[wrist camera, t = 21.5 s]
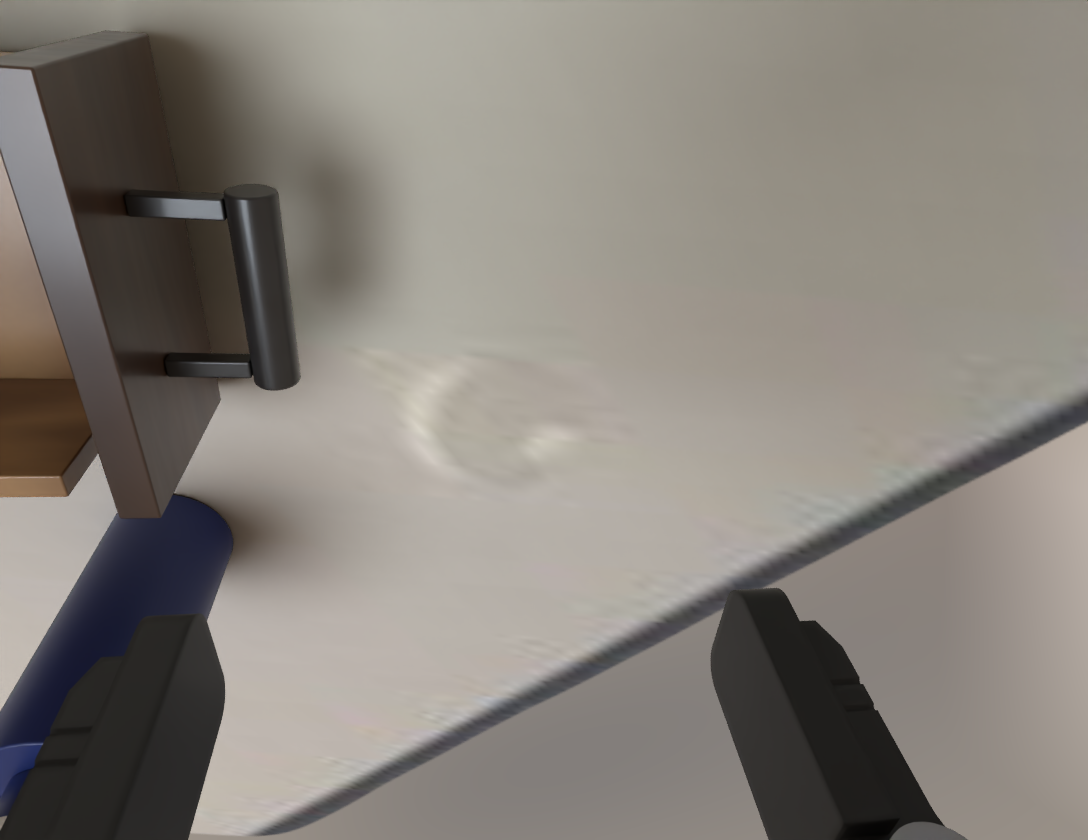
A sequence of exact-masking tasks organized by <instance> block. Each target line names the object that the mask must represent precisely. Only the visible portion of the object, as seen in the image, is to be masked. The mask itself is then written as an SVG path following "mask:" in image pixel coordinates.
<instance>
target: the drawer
mask: <svg viewBox="0 0 1088 840" xmlns="http://www.w3.org/2000/svg"><path fill="white" fill-rule="evenodd" d="M185 219H193V220H216V221H225V220H226V219H227V220H228V226H229V232H230V238H231V244H232V250H233V256H234V262H235V268H236V274H237V280H238V286H239V292H240V298H241V304H242V310H243V316H244V323H245V329H246V335H247V341H248V347H249V353H250V354H227V353H211V348H210V343H209V338H208V333H207V328H206V323H205V318H204V313H203V308H202V303H201V298H200V293H199V288H198V283H197V278H196V273H195V268H194V263H193V258H192V253H191V248H190V243H189V238H188V233H187V228H186V223H185ZM252 375H253V377H254V382H255V384H256V385H257V386H258V387H260V388H262V389H265V390H283V389H287V388H290V387H292V386H294V385H296V384H297V383H298V382H299V380H300V377H301V375H300V366H299V358H298V350H297V342H296V334H295V326H294V318H293V310H292V302H291V293H290V285H289V277H288V269H287V261H286V253H285V245H284V237H283V229H282V220H281V212H280V204H279V196H278V192H277V190H276V189H275V188H273V187H270V186H266V185H260V184H243V185H236V186H232V187H229V188H227V189H225V190H224V193H223V194H219V193H198V192H179V187H178V182H177V177H176V172H175V167H174V162H173V157H172V152H171V147H170V142H169V137H168V132H167V127H166V122H165V117H164V112H163V107H162V102H161V97H160V92H159V87H158V82H157V77H156V72H155V67H154V62H153V57H152V52H151V47H150V42H149V37H148V35H147V34H145V33H132V32H119V31H106V30H105V31H101V32H97V33H93V34H89V35H85V36H81V37H77V38H73V39H69V40H65V41H61V42H56V43H52V44H48V45H44V46H40V47H36V48H32V49H28V50H24V51H20V52H16V53H12V52H0V497H67V496H69V494H70V493H71V492H72V490H73V489H74V487H75V486H76V484H77V483H78V481H79V480H80V479H81V477H82V476H83V474H84V473H85V471H86V470H87V469H88V467H89V466H90V464H91V463H92V461H93V460H94V458H95V457H96V456H97V454H99V457H100V460H101V463H102V466H103V469H104V472H105V475H106V478H107V481H108V484H109V487H110V490H111V493H112V496H113V499H114V502H115V506H116V509H117V512H118V515H119V518H121V519H134V518H161V517H162V515H163V513H164V511H165V509H166V507H167V505H168V503H169V501H170V499H171V497H172V495H173V493H174V491H175V489H176V487H177V485H178V483H179V481H180V479H181V477H182V475H183V473H184V471H185V469H186V467H187V465H188V464H189V462H190V460H191V458H192V456H193V454H194V452H195V450H196V448H197V446H198V444H199V442H200V440H201V438H202V436H203V434H204V432H205V430H206V428H207V426H208V424H209V422H210V420H211V418H212V416H213V414H214V412H215V410H216V408H217V406H218V404H219V402H220V400H221V398H220V393H219V388H218V383H217V378H251V377H252Z"/></svg>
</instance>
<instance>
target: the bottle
mask: <svg viewBox="0 0 1088 840" xmlns="http://www.w3.org/2000/svg"><path fill="white" fill-rule="evenodd" d="M232 550H233V537H232V533H231V531H230V528H229V526H228V525H227V523H226V522H225V521H224V519H223V518H222V517H221V516H220V515H219V514H218V513H217V512H215V511H214V510H213V509H211V508H210V507H208V506H206V505H204V504H203V503H200V502H198V501H196V500H193V499H190V498H187V497H183V496H178V495H172V497H171V499H170V501H169V503H168V505H167V507H166V509H165V511H164V513H163V515H162V517H161V518H134V519H121V518H119V515H118V513H117V514H116V516H115V517H114V519H113V521H112V523H111V524H110V526H109V528H108V529H107V531H106V533H105V534H104V536H103V538H102V540H101V541H100V543H99V545H98V546H97V548H96V550H95V551H94V553H93V555H92V556H91V558H90V560H89V562H88V563H87V565H86V567H85V568H84V570H83V572H82V573H81V575H80V577H79V579H78V580H77V582H76V584H75V585H74V587H73V589H72V590H71V592H70V594H69V596H68V597H67V599H66V601H65V602H64V604H63V606H62V607H61V609H60V611H59V613H58V614H57V616H56V618H55V619H54V621H53V623H52V624H51V626H50V628H49V630H48V631H47V633H46V635H45V636H44V638H43V640H42V641H41V643H40V645H39V646H38V648H37V650H36V652H35V653H34V655H33V657H32V658H31V660H30V662H29V663H28V665H27V667H26V669H25V670H24V672H23V674H22V675H21V677H20V679H19V680H18V682H17V684H16V686H15V687H14V689H13V691H12V692H11V694H10V696H9V697H8V699H7V701H6V703H5V704H4V706H3V708H2V709H1V711H0V830H1V828H2V826H3V824H4V822H5V820H6V818H7V816H8V814H9V812H10V810H11V808H12V806H13V804H14V801H15V799H16V797H17V795H18V793H19V791H20V789H21V787H22V785H23V783H24V781H25V779H26V777H27V775H28V773H29V771H30V769H33V768H34V766H35V759H36V757H37V755H38V753H39V751H40V749H41V747H42V745H43V742H44V740H45V738H46V737H48V736H49V735H50V732H51V730H50V728H51V726H52V724H53V722H54V720H55V718H56V716H57V714H58V712H59V710H60V708H61V706H62V704H63V702H64V700H65V698H66V696H67V694H68V692H69V690H70V689H71V688H72V687H73V686H74V685H75V684H76V683H77V682H78V681H79V680H80V679H81V678H82V677H83V675H84V674H85V673H86V672H87V671H88V670H89V669H90V668H91V667H92V666H93V665H94V664H95V663H96V662H97V661H98V660H99V659H100V658H101V657H113V656H124V654H125V652H126V650H127V648H128V645H129V643H130V641H131V639H132V636H133V634H134V632H135V629H136V627H137V626H138V624H139V622H140V621H141V620H142V619H143V618H144V617H146V616H156V615H178V614H199V613H200V614H203V615H204V617H205V618H206V621H207V619H208V616H209V614H210V611H211V608H212V605H213V602H214V600H215V597H216V594H217V591H218V589H219V586H220V583H221V580H222V578H223V575H224V572H225V569H226V567H227V564H228V561H229V558H230V556H231V553H232Z"/></svg>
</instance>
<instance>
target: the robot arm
mask: <svg viewBox="0 0 1088 840" xmlns="http://www.w3.org/2000/svg"><path fill="white" fill-rule="evenodd" d="M711 672H712V679H713V683H714V687H715V690H716V693H717V696H718V699H719V702H720V704H721V707H722V710H723V713H724V716H725V718H726V721H727V724H728V727H729V730H730V732H731V735H732V738H733V741H734V743H735V746H736V749H737V752H738V755H739V758H740V760H741V763H742V766H743V769H744V772H745V775H746V777H747V780H748V783H749V786H750V788H751V791H752V794H753V797H754V800H755V803H756V805H757V808H758V811H759V813H760V817H761V819H762V822H763V825H764V828H765V831H766V834H767V836H768V839H769V840H967V839H966V838H965V837H963V836H962V835H960V834H958V833H957V832H955V831H953V830H951V829H949V828H947V827H945V826H944V825H943V823H942V822H941V821H940V819H939V818H938V817H937V815H936V814H935V812H934V811H933V809H932V807H931V806H930V804H929V802H928V801H927V799H926V797H925V795H924V793H923V792H922V790H921V788H920V786H919V784H918V782H917V781H916V779H915V777H914V775H913V773H912V772H911V770H910V768H909V766H908V764H907V763H906V761H905V759H904V757H903V755H902V754H901V752H900V750H899V748H898V746H897V745H896V743H895V741H894V739H893V737H892V736H891V734H890V732H889V730H888V728H887V727H886V725H885V723H884V721H883V720H882V717H881V716H880V714H879V712H878V710H875V709H874V706H873V705H874V703H873V701H872V699H871V698H870V696H869V694H868V692H867V691H866V689H865V687H864V685H863V684H860V681H859V676H858V674H857V672H856V671H855V669H854V667H853V665H852V663H851V662H850V660H849V658H848V656H847V654H846V652H845V651H844V649H843V647H842V646H841V645H840V644H839V643H838V642H837V641H836V640H835V639H834V638H833V637H832V636H831V635H830V634H829V633H827V631H825V630H824V629H823V628H822V627H821V626H820V625H819V624H818V623H817V622H816V621H799V619H798V617H797V615H796V613H795V611H794V609H793V607H792V605H791V603H790V601H789V599H788V598H787V596H786V595H785V593H784V592H783V591H782V590H781V589H779V588H766V589H745V590H733V591H731V592H730V593H729V595H728V598H727V601H726V604H725V607H724V610H723V614H722V617H721V620H720V624H719V627H718V630H717V633H716V637H715V640H714V643H713V646H712V650H711ZM224 703H225V681H224V675H223V672H222V669H221V665H220V662H219V659H218V656H217V653H216V649H215V646H214V643H213V640H212V636H211V633H210V630H209V627H208V624H207V621H206V618H205V617H204V615H203V614H200V613H199V614H178V615H156V616H146V617H144V618H143V619H142V620H141V621H140V622H139V624H138V626H137V627H136V629H135V632H134V634H133V636H132V639H131V641H130V643H129V645H128V648H127V650H126V652H125V654H124V656H113V657H101V658H100V659H99V660H98V661H97V662H96V663H95V664H94V665H93V666H92V667H91V668H90V669H89V670H88V671H87V672H86V673H85V674H84V675H83V677H82V678H81V679H80V680H79V681H78V682H77V683H76V684H75V685H74V686H73V687H72V688H71V689H70V690H69V692H68V694H67V696H66V698H65V700H64V702H63V704H62V706H61V708H60V710H59V712H58V714H57V716H56V718H55V720H54V722H53V724H52V726H51V728H50V730H51V732H50V735H49V736H48V737H46V738H45V740H44V742H43V745H42V747H41V749H40V751H39V753H38V755H37V757H36V759H35V766H34V768H33V769H30V771H29V773H28V775H27V777H26V779H25V781H24V783H23V785H22V787H21V789H20V791H19V793H18V795H17V797H16V799H15V801H14V804H13V806H12V808H11V810H10V812H9V814H8V816H7V818H6V820H5V822H4V824H3V826H2V828H1V830H0V840H188V838H189V834H190V831H191V827H192V824H193V820H194V816H195V813H196V809H197V806H198V802H199V799H200V795H201V791H202V788H203V784H204V781H205V777H206V774H207V770H208V767H209V763H210V759H211V756H212V752H213V749H214V745H215V742H216V738H217V734H218V731H219V727H220V724H221V720H222V716H223V711H224Z"/></svg>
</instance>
